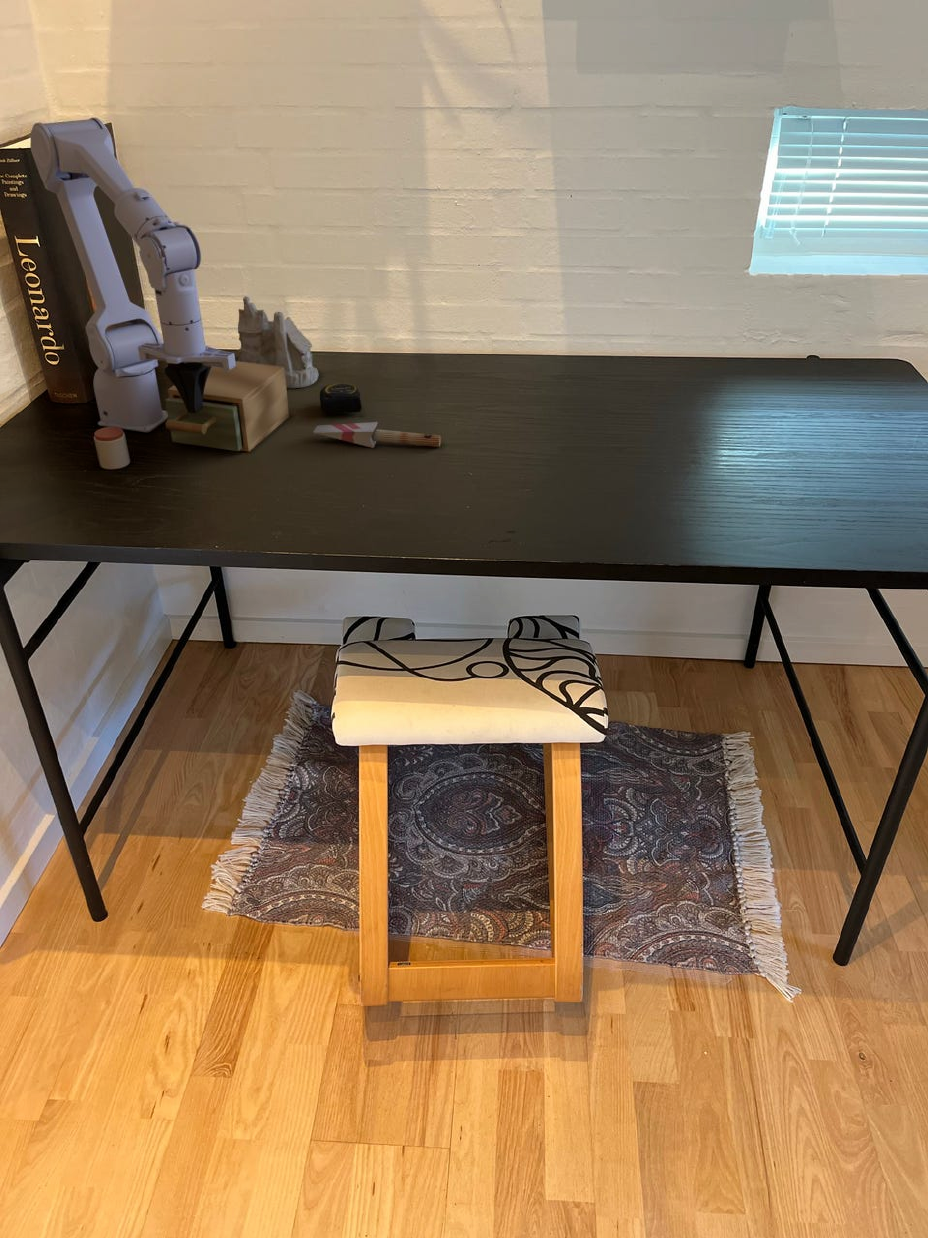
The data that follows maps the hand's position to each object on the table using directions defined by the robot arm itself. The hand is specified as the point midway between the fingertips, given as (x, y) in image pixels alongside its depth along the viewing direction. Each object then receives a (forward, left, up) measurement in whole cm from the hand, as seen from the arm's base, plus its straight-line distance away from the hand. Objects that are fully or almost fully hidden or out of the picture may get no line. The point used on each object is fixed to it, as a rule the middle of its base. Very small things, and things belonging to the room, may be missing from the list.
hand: (195, 410), depth 142 cm
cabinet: (0, +11, -7) cm, 13 cm away
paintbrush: (+24, +13, -7) cm, 28 cm away
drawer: (0, +6, -6) cm, 8 cm away
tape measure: (+14, +23, -7) cm, 28 cm away
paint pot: (-11, -6, -7) cm, 15 cm away
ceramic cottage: (-4, +37, -7) cm, 37 cm away
